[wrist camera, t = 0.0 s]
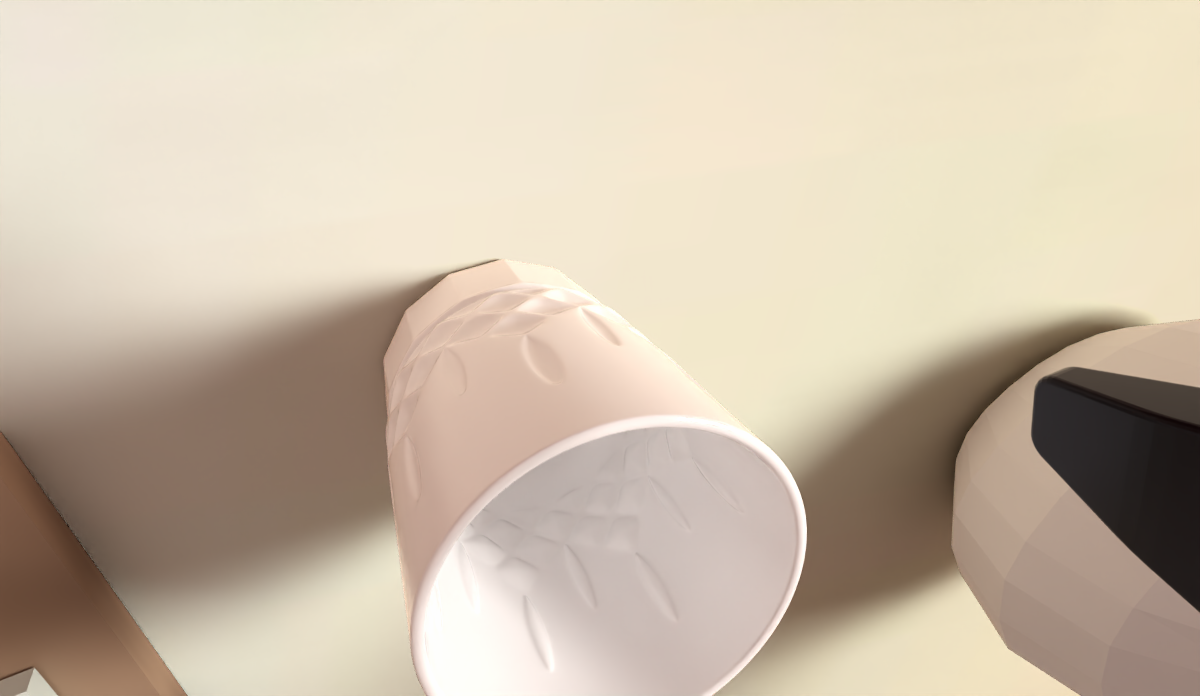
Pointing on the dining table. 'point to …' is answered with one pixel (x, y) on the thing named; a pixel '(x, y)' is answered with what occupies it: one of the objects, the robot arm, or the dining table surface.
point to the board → (64, 603)
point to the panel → (26, 685)
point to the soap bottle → (1072, 540)
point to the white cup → (574, 500)
